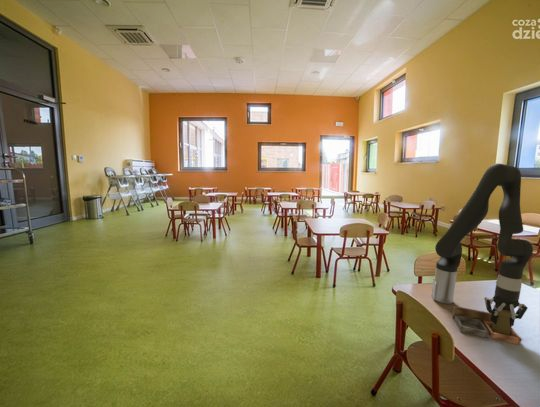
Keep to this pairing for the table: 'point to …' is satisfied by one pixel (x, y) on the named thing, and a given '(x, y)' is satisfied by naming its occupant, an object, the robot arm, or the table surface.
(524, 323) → the table surface
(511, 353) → the table surface
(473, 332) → the shaker rack
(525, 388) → the table surface
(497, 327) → the cork
